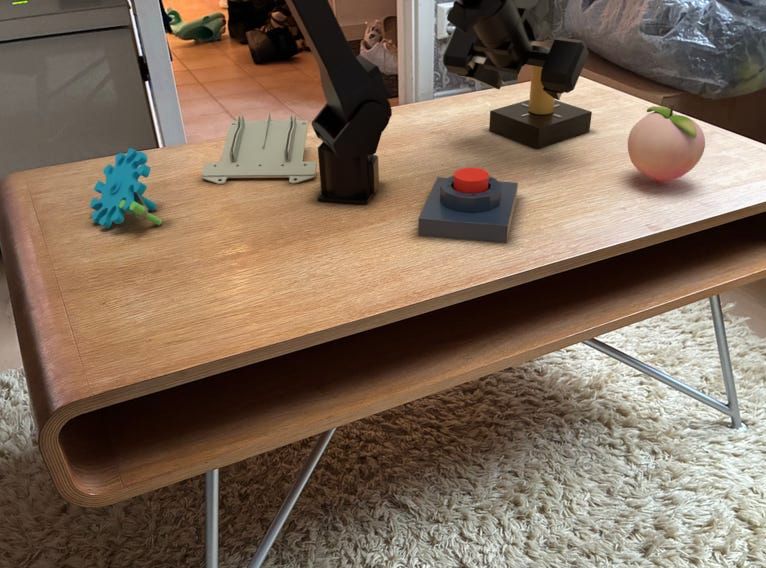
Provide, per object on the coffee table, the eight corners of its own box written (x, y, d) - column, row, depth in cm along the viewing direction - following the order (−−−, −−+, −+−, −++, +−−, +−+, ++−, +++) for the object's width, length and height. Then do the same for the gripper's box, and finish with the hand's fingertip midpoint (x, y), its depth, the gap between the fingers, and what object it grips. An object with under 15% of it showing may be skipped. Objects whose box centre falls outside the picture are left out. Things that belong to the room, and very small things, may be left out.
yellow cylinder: (550, 115, 110) (556, 55, 105) (525, 113, 111) (530, 53, 106) (555, 108, 113) (561, 49, 108) (531, 105, 114) (536, 47, 109)
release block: (506, 243, 85) (509, 210, 82) (418, 236, 86) (418, 203, 84) (516, 199, 94) (519, 168, 92) (436, 193, 96) (437, 162, 94)
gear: (77, 196, 93) (125, 131, 91) (119, 218, 97) (165, 156, 95) (100, 243, 86) (152, 173, 84) (144, 264, 90) (194, 198, 88)
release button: (485, 196, 86) (486, 182, 85) (450, 194, 87) (451, 179, 86) (490, 182, 89) (490, 168, 88) (456, 180, 90) (456, 166, 89)
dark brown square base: (537, 149, 108) (539, 127, 106) (488, 130, 114) (490, 109, 112) (589, 131, 113) (592, 110, 111) (540, 115, 120) (542, 94, 118)
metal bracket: (214, 106, 107) (321, 105, 106) (223, 141, 111) (325, 140, 111) (196, 172, 98) (312, 170, 98) (206, 206, 103) (317, 205, 102)
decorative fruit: (606, 178, 99) (617, 100, 93) (652, 165, 102) (666, 89, 96) (660, 203, 92) (676, 122, 86) (707, 189, 96) (726, 109, 90)
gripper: (593, -30, 89) (614, 48, 103) (456, -43, 98) (492, 31, 112) (557, 55, 89) (583, 123, 102) (422, 35, 97) (463, 100, 111)
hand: (529, 91), depth 107 cm, fingers open, 9 cm apart
